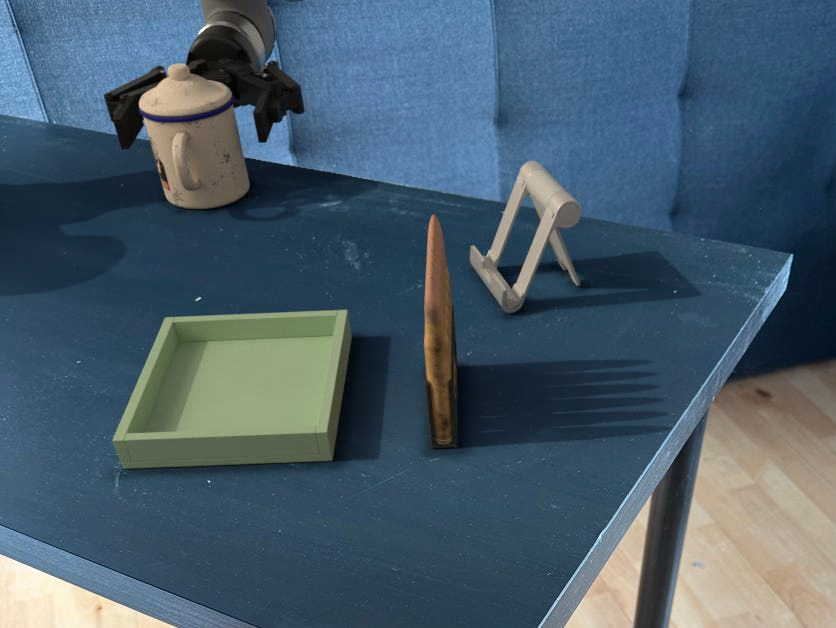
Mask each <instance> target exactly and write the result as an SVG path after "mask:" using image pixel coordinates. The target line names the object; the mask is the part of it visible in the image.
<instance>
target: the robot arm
mask: <svg viewBox="0 0 836 628" xmlns="http://www.w3.org/2000/svg"><path fill="white" fill-rule="evenodd" d="M284 1H285V2H289V3H299V2H302V1H304V0H284ZM199 3H200V5H201V11H202V15H203V21H204V25H203V26H202V27H201V29H200V31H199V32H198V34H197V35H196V37H195V39H194V41H192V44H191V45H190V47H189V49H188V52H187V56H186V61H185V64H186V65H187V66H188V67H189V70H190V74H194V75H198V76H201V77H203V78H204V79H206V80H211V81H216V82H220V83H222V84H224V85H226V86H227V87H228V88H229V89H230V91H231V93H232V94H233V96H234V103H233V108H234V109H237V108H239V107H246V106H252V107H254V109H253V111H252V117H253V120H254V125H255V131H256V136H257V140H258V144H261V143H262V144H263V143H265V144H267V142H268V139H269V137H270V134H271V132H272V128H273V126H274V124H279V123H281V122H282V121H283V118H284V117H286V116H287V115H288V113H287V112H288V111H291V112H292V113H293V114H294V115H302V114H304V113H305V111H306V110H305V104H304V98H303V92H302V86H301V84H300V83H299V82H298V81H296V80H295V79H293V78H292V77H291V76H290V75H289V74H287V73H286V72H285V70H282V69H281V68H280V63H279V61H278V60H277V61H276V60H270V61H268V60H269V59H270V57H271V56H272V54H273V51H274V48H275V42H276V39H277V23H276V18H275V15H274V12H273V10H272V9H271V7H270V5H269V4H268V3H267V0H199ZM266 63H267V64H266ZM167 77H169V74H168V73H167V72H166V70H165V66H163V65H155V66H154V67H152V68H151V70H149V71H148V72H147V73H145V74H143V75H141V76H139V77H137V78H134V79H133V80H130V81H128V82H127V83H124V84H122V85H120V86H118V87H116V88H113V89H112V90H110V91H108V92H106V93H104V94H102V95H103V99H104V102H105V105H106V106H105V107H106V109H107V112H108V116H109V118H110V121H111V122H112V123H113V125H114V130H115V132H116V136H117V139H118V142H119V146H120V148H121V150H130V148H131V147H132V145H133V144H134V142H135V140H136V139H137V137H138V136H139V134H140V132H141V131H142V129H143V128H144V126H145V122H144V117H143V116H142V115H141V114H140V112H139V101H140V98H141V97H142V95H143V94H144V93H146V92H147V91H149V90H151V89H153V88H155V87H157V85H158V84H159V83H160V82H161V81H162V80H164V79H165V78H167Z"/></svg>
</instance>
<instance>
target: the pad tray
mask: <svg viewBox="0 0 836 628" xmlns="http://www.w3.org/2000/svg"><path fill="white" fill-rule="evenodd" d="M351 329H352V328H351V323H350V316H349V310H348V309H333V310H308V311H306V310H305V311H285V312H283V311H282V312H259V313H240V314H237V313H236V314H234V313H233V314H215V315H214V314H213V315H191V316H190V315H189V316H188V315H187V316H166V317H164V319H163V322H162V324H161V326H160V329H159V331H158V334H157V335H156V338H155V340H154V342H153V344H152V347H151V350H150V352H149V355H148V357H147V359H146V361H145V364H144V365H143V368H142V371H141V373H140V375H139V378H138V379H137V382H136V384H135V387H134V389H133V391H132V393H131V396H130V399H129V401H128V403H127V406H126V408H125V410H124V412H123V415H122V417H121V419H120V422H119V424H118V426H117V429H116V432H115V434H114V436H113V438H112V444H113V446H114V448H115V451H116V453H117V456H118V458H119V461H120V463H121V466H122V468H123V470H126V469H127V470H129V469H149V468H150V469H153V468H154V469H156V468H157V469H158V468H177V467H178V468H179V467H202V466H204V467H205V466H207V467H208V466H231V465H258V464H259V465H260V464H261V465H262V464H282V463H285V464H286V463H309V462H312V463H313V462H332V461H333V459H334V453H335V448H336V447H335V446H336V441H337V434H338V427H339V422H340V415H341V408H342V401H343V394H344V389H345V383H346V376H347V370H348V365H349V355H350V352H351V345H352V339H353V336H352V330H351Z"/></svg>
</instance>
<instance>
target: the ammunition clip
mask: <svg viewBox="0 0 836 628" xmlns="http://www.w3.org/2000/svg"><path fill="white" fill-rule="evenodd" d="M442 230H443V229H442V226H441V224H440V221H439V219H438V217H437V216H436V214H435V213H434V214H433V213H432V215H431V217H430V219H429V223H428V229H427V245H426V268H425V285H424V286H425V287H424V305H423V306H424V310H423V311H424V337H423V341H424V342H423V351H424V360H425V361H424V362H425V377H424V385H425V386H424V387H425V398H426V410H427V421H428V430H429V431H428V432H429V442H430V449H445V448H458V441H459V440H458V439H459V438H458V435H459V433H458V430H459V429H458V428H459V426H458V422H459V421H458V418H459V417H458V416H459V413H458V409H459V407H458V404H459V402H458V400H459V399H458V397H459V395H458V393H459V392H458V391H459V388H458V387H459V380H458V377H459V376H458V375H459V374H458V373H459V370H458V369H459V366H458V352H457V351H458V350H457V337H456V321H455V306H454V305H453V304H452V303H453V302H452V289H451V276H450V272H449V268H448V264H447V263H448V262H447V254H446V247H445V246H446V245H445V240H444V234H443V231H442Z"/></svg>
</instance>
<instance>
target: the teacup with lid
mask: <svg viewBox="0 0 836 628" xmlns="http://www.w3.org/2000/svg"><path fill="white" fill-rule="evenodd" d="M167 74H169V77H167V78H165V79H164V80H162V81H161V82H160V83H159V84H158V85H157V87H155V88H153V89H151V90H149V91H147V92H146V93H144V94H143V95H142V97H141V98H140V101H139V112H140V114H141V115H142V116H143V117H144V120H143V122H144V126H145V128H146V131H147V135H148V140H149V142H150V146H151V150H152V152H153V157H154V161H155V164H156V167H157V171H158V175H159V178H160V182H161V185H162V189H163V191H164V192H163V193H164V196H165V199H166V200H167V201H168V202H169V203H170V204H171V205H173V206H176V207H178V208H182V209H186V210H187V209H188V210H208V209H214V208H215V209H216V208H219V207H224V206H227V205H230V204H232V203H235V202H236V201H238V200H240V199H242V198H243V197H244V196H245V195H246V194H247V193H248V192H249V190H250V187H251V186H250V185H251V184H250V179H249V173H248V168H247V164H246V160H245V159H246V158H245V155H244V151H243V146H242V142H241V141H242V140H241V136H240V131H239V126H238V122H237V117H236V113H235V108H233V103H234V96H233V94H232V93H231V91H230V89H229V88H228V87H227V86H226V85H224V84H222V83H220V82H216V81H211V80H206V79H204V78H203V77H201V76H198V75H194V74H190V70H189V67H188V66H187V65H186V63H178V62H177V63H173V64H170V65H169V66H168V68H167Z"/></svg>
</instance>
